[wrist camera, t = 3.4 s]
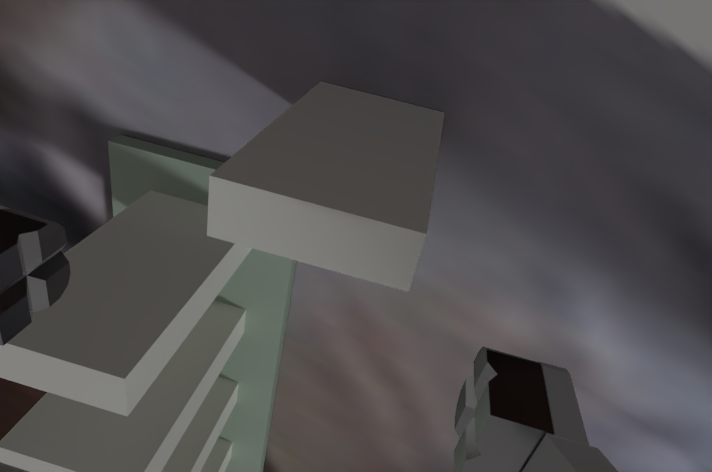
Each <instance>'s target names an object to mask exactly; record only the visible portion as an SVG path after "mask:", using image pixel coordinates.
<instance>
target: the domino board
mask: <svg viewBox="0 0 712 472" xmlns="http://www.w3.org/2000/svg"><path fill="white" fill-rule="evenodd" d="M108 150H109V164H110V178H111V192H112V206H113V217H115V216H116V215H117V214H119V213H120V212H122V211H123V210H124V209H126V208H127V207H128V206H130V205H131V204H133V203H134V202H135V201H137V200H138V199H139V198H141V197H142V196H143V195H145V194H146V193H148V192H149V191H150V190H152V191H156V192H159V193H163V194H167V195H170V196H174V197H178V198H181V199H185V200H188V201H192V202H196V203H199V204H203V205H207V206H208V196H209V175H211V174H212V173H213V172H214V171H215V170H217V169H218V168H219V167H220V166H221V165H222V164H224V163H225V162H221V161H217V160H214V159H210V158H206V157H202V156H199V155H195V154H191V153H187V152H184V151H180V150H176V149H172V148H169V147H165V146H161V145H157V144H154V143H150V142H146V141H142V140H139V139H135V138H131V137H127V136H124V135H118V136H116V137H114V138H112V139H110V140H108ZM295 267H296V260H292V259H289V258H285V257H282V256H278V255H275V254H271V253H267V252H264V251H260V250H257V249H253V248H252V249H251V251H250V252H249V253H248V255H247V256H246V257H245V259H244V260H243V261H242V263H241V264H240V266H239V267H238V268H237V270H236V271H235V272H234V274H233V275H232V276H231V278H230V279H229V280H228V282H227V283H226V284H225V286H224V287H223V288H222V290H221V291H220V293H219V294H218V295H217V297H216V298H215V299H214V301H217V302H221V303H224V304H228V305H231V306H235V307H238V308H242V309H245V310H246V315H245V325H244V333H243V335H242V337H241V338H240V340H239V342H238V344H237V345H236V347H235V349H234V350H233V352H232V354H231V355H230V357H229V359H228V360H227V362H226V364H225V365H224V367H223V369H222V370H221V372H220V374H219V375H218V377H222V378H225V379H228V380H232V381H235V382H238V383H239V384H238V393H237V402H236V404H235V406H234V408H233V410H232V412H231V414H230V415H229V417H228V419H227V421H226V423H225V425H224V427H223V429H222V431H221V433H220V435H219V437H218V438H221V439H224V440H227V441H230V442H233V443H232V452H231V459H230V461H229V463H228V465H227V467H226V469H225V472H263V467H264V461H265V454H266V448H267V442H268V436H269V429H270V423H271V417H272V411H273V404H274V398H275V392H276V386H277V379H278V373H279V367H280V361H281V354H282V348H283V342H284V336H285V329H286V323H287V317H288V311H289V304H290V298H291V292H292V286H293V279H294V273H295Z"/></svg>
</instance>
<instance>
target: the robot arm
mask: <svg viewBox="0 0 712 472" xmlns="http://www.w3.org/2000/svg"><path fill="white" fill-rule="evenodd" d="M66 244H67V240H66V234H65V229H64V228H63V227H62V226H60V225H59V224H58V223H55V222H52V221H49V220H46V219H43V218H39V217H36V216H33V215H30V214H27V213H23V212H20V211H17V210H14V209H9V208H6V207H3V206H0V345H2V346H4V345H5V344H6V343H7V342H9V341H10V340H11V339H12V338H13V337H15V336H16V335H17V334H18V333H19V332H21V331H22V330H23V329H24V328H25V327H27V326H28V325H29V324H30V323H31V322H32V317H33V312H36V311H39V310H43V309H46V308H49V307H50V306H52V305H53V304H54V303H55V302H56V301H57V300H58V299H60V298H61V296H62V294H63V293H64V291H65V289H66V287H67V286H68V283H69V278H70V263H69V261H68V260H67V258H66V257H65V256H64V254H63V253H62V251H61V250H62V249H63V247H64V246H65V245H66ZM455 430H456V432H457V434H458V435H459V437H460V440H459V442H458V444H457V446H456V448H455V450H454V472H618V471H617V470H616V469H615V467H614V466H613V465H612V464H611V463H610V462H609V461H608V459H607V458H606V457H605V456H604V455H603V454H602V452H601V451H600V450H599V449H598V448H595V447H591V446H589V443H588V439H587V435H586V432H585V428H584V424H583V420H582V417H581V413H580V409H579V405H578V402H577V398H576V394H575V390H574V386H573V383H572V379H571V375H570V373H569V372H568V370H567V369H565V368H561V367H557V366H554V365H550V364H546V363H542V362H539V361H538V362H535V361H532V360H529V359H525V358H522V357H518V356H515V355H511V354H508V353H504V352H501V351H497V350H493V349H490V348H486V347H482V348H481V349H480V351H479V352H478V354H477V356H476V358H475V360H474V375H473V376H471V377H469V378H467V379H466V380H465V382H464V385H463V387H462V389H461V392H460V395H459V399H458V403H457V407H456V415H455ZM0 472H29V471H26V470H23V469H20V468H17V467H13V466H10V465H7V464H4V463H1V462H0Z"/></svg>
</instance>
